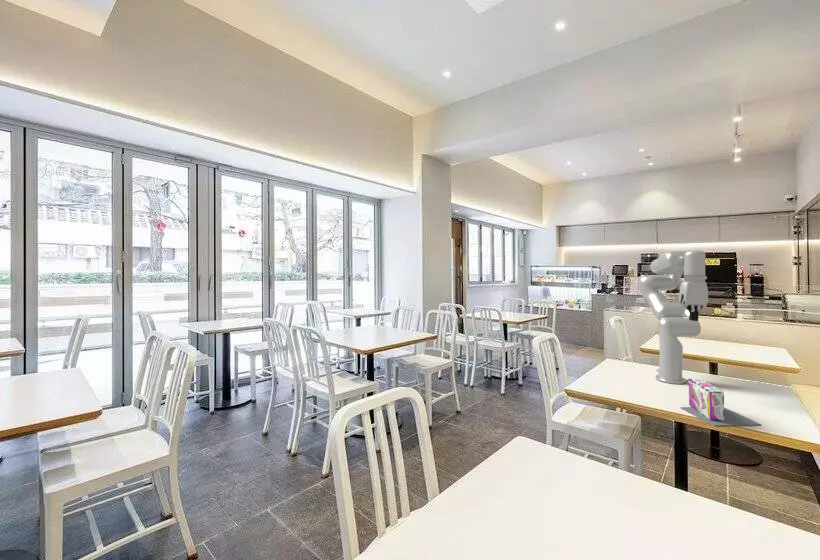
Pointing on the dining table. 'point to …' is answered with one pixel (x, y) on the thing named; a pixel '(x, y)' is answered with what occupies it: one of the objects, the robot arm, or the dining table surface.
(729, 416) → the mat
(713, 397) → the candy bar box
